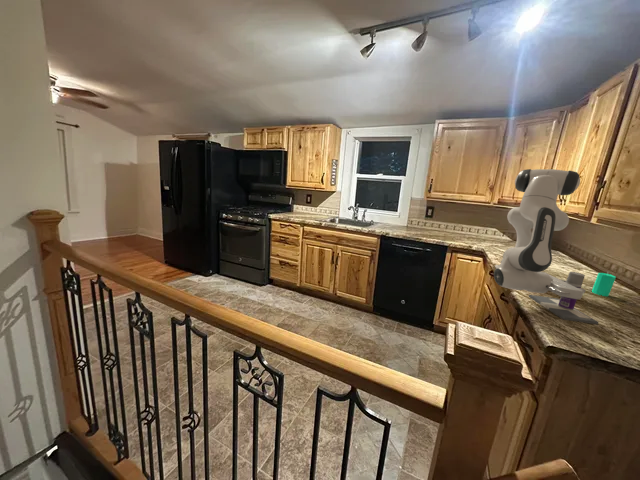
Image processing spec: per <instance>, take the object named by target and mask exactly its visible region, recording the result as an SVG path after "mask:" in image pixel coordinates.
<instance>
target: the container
mask: <svg viewBox="0 0 640 480" xmlns="http://www.w3.org/2000/svg"><path fill="white" fill-rule="evenodd" d="M584 279H585V274H584V273H580V272H576V271H569V272H568V276H567V278H566V279H565V281H566V283H568V284H570V285H572V286H574V287H576V288H582V286H583V283H584ZM559 299H560V301H559V304H558V306H559V307H561V308H564V309H567V310H573V309H574V308H575V306H576V303H577V300H578V299H573V298H567V297H562V296H560V298H559Z"/></svg>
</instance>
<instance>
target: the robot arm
mask: <svg viewBox="0 0 640 480" xmlns="http://www.w3.org/2000/svg"><path fill="white" fill-rule="evenodd" d="M580 184H581V176H580V173H579V172H577V171H574V170H563V169H553V168H548V169H544V168H543V169H537V168H536V169H531V168H530V169H523V170H521V171H519V173H518V174H517V175H516V177H515V180H514V186H515V187H514V188H515V189H516V190H517V191H518V192H522V193H523V195H522V198H521V201H520V203H519V204H520V205H519V206H515V207H514V206H513V207H512V208H511V209H510V210H509V211H508V212H507V215H506V216H507V221H508V223H509V224H510V225H512V227H513V228H514V230H515V231H516V241H515V246H514V247H509V248H507V249H506V250H505V251H504V252H503V254H502V260H500V263H499V264H495V265H494V267H495V269H494V271H493V278H494V281H495V283H496V284H497V285H498V286H499V287H502V288H504V289H505V288H506V289H509V290H516V291H527V292H530V293H538V294H545V293H546V294H547V293H548V292H549V291H550V292H551V293H553V294H555V295H558V296H559V297H561V296H562V297H567V298H573V299H577V300H581V299H582V298H583V295H584V294H585V293H586V292H587V291H586V289H584V288H583V287H581V288H576V287H574V286H572V285H570V284H568V283H566V279H565V280H564V279H559V278H557V277H555V276H553V275H551V274H549V273H548V272H545V271H546V270H547V269H549V268H550V266H551V265H552V261H553V254H552V253H553V252H552V243H553V237H554V233H555V231H557V232H558V231H559V232H560V231H562V230H564V229H565V228H567V226H568V225H569V223H570V217H569V215H568V214H567V213H566V212H565V211H563V210H562V209H560V208H559V206H558V205H557V199H558V195H560V196H570V195H572V194H574V193H575V192H576V191H577V189H578V188H579V187H580Z"/></svg>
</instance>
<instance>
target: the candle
mask: <svg viewBox="0 0 640 480" xmlns="http://www.w3.org/2000/svg"><path fill="white" fill-rule="evenodd" d="M616 278H617V277H616V275H613V274H610V273H609V272H607V273H605V272H598V273H597V276H596V277H595V282H594V283H593V286H592V290H591V291H592V292H591V293H593V294H595V295H598V296H601V295H602V296H603V297H609V296H610V293H611V291H612V288H613V286H614V283H615V281H616Z"/></svg>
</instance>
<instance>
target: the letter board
mask: <svg viewBox="0 0 640 480" xmlns="http://www.w3.org/2000/svg"><path fill="white" fill-rule="evenodd" d="M528 297H529V299H532V300H533V301H535V302H536V303H538V304H539V305H541V307H544V308H545V309H547V310H548V311H549V312H551V313H553V314H554V315H556V316H557V317H559V319H562V320H563V321H564V320H565V321H571V322H578V321H579V323H585V324H592V325H598V324H599V321H597V320H596V319H594V318H593V317H590V316H589V315H588V314H586V313H584V312H582V311H581V310H578V309H577V308H575V307H574V309H573V310H567V309H564V308H561V307H559V306H558V304H559V301H560V298H555V297H549V296H541V295H535V294H528Z"/></svg>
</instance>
